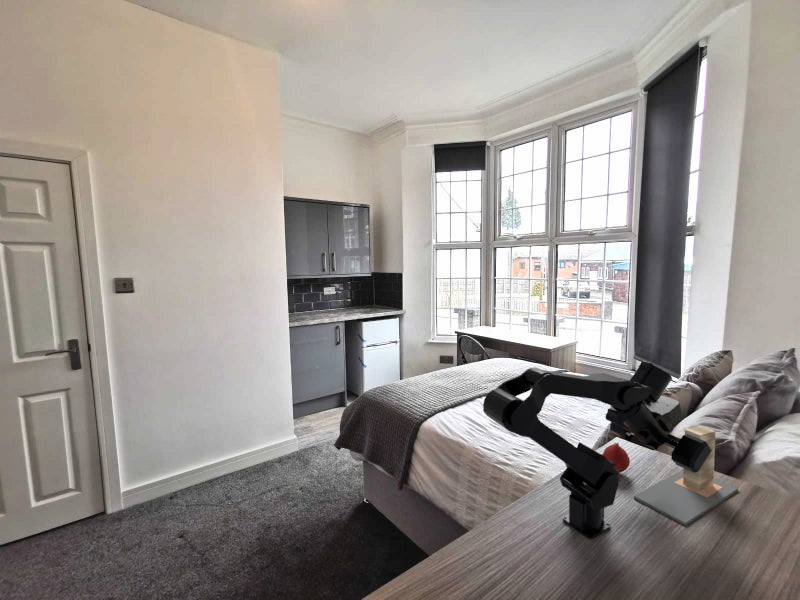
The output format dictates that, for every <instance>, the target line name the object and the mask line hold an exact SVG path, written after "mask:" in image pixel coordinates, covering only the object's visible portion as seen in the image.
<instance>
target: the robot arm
mask: <svg viewBox="0 0 800 600" xmlns="http://www.w3.org/2000/svg"><path fill="white" fill-rule="evenodd" d="M672 380H673V377H672V375H671V374H670V373H669V372H666V371H665V370H663V369H661V367H658V366H656V365H654V364H653V363H652V362H649V361H646V360H642V361H641V363H640V364H639V365H638V368H637V369H636V371H635V372H634V374H633V375H632V377H630V379H626V378H623V377H619V376H615V375H611V374H608V373H606V372H598V373H590V374H589V375H579V374H578V375H577V374H571V373H565V372H558V371H553V370H544V369H541V368H538V367H529V368H527V369H526V370H525V371H523V373H521V374H519V375H518V376H517V375H516V376H515V377H513V378H509V379H507V380H505V381H503V382H502V383H501V384H500V385H498V386H497V387H496V388H494V389H492V390H490V391H489V392H487V394H486V395H485V397H484V399H483V405H482V407H483V410H482V411H483V413H484V415H486V417H488V418H490V419H491V420H492V421H493V422H495V423H497V424H498V425H499V426H501V427H502V428H504V429H506V430H507V431H508V432H510V433H513V434H515V435H518V436H519V437H523V438H529V439H530V440H532V441H533V442H535V443H536V444H537V445H539V446H540V447H541V448H542V449H543V448H544V449H545V450H546V451H547V452H548V453H550V454H551V455H553V456H555V457H556V458H557V459H558V460H560V461H562V462H563V463H564V464H565V467H566V468H565V470H564V471H563V472H562V474H561V476H560V477H559V481H560V484H561V486H562V487H563V488H565V489H566V490H568V491H569V492H570V494H569V497H568V502H569V503H568V507H569V508H568V514H565V515H564V516H562V521H563V522H565V523H566V524H568V526H570V527H572V528H573V529H575V530H576V531H577V532H579V533H580V534H582V535H583V536H584V537H586V538H587V539H590V540H591V539H594V538H596V537H597V536H599V535H601V534H603V533H604V532H606V531H608V530H609V529H611V528H612V524H610V523H609V522H608V521H606V520H604V519H605V508H607V507H609V506H613V505H614V503H615V498H616V495H617V492H618V488H619V485H620V479H619V475H620V473H618V471H617V469H616V468H614V466H616V464H615V463H613V462H611V461H609V460H608V459H606V457H604V456H603V455H602V454H603V453H600V452H598V451H597V450H596V449H593V448H591V447H589V446H587V445H586V444H584V443H583V442H581V441H579V442H578V444H577V445H576V446H575V445H573V443H570V442H569V441H568V440H567V439H565V438H564V437H563V436H561V435H560V434H558V433H557V432H556V431H554V430H553V429H552V428H550V427H548V426H547V425H546V424H544V422H541V420H540V419H539V417H538V415H539V414H540V413H541V412H542V410H543V407H544V403H545V401H546V399H547V397H549V396H550V395H551V394H553V395H559V396H566V397H567V396H568V397H573V398H574V397H575V398H576V397H577V398H583V399H590V400H596V401H598V402H601V403H603V404H606V405H608V406H610V408H607V412H606V414H605V420H606V421H608V422H610V424H609V430H610V432H611V433H612V434H614V435H615V436H616V437H620V438H621V439H622V440H625V441H627V442H629V443H632V444H634V445H637V446H640V447H642V448H645V449H648V450H650V451H654V450H655V451H657V450H658V448H659V447H661V446H662V445H665V446H666V447H670V448H672V449H673V450H672V452H671V456H670V457H671V461H673V463H675V465H676V466H678V467H680V468H683V469H686V470H688V471H691V472H693V473H695V472H698V471H699V470H700V468H701V467H702V465H703V464H704V462H705V460H706V459H707V457H708V456H709V454H710V453H711V451H712V449H711V447H710V446H709V445H708V443H707V442H706V441H704V440H701V439H699V438H696V437H694V436H691V435H689V434H686V435H685V434H683V435H682V437H681V438H680V437H678V436H675V435H673V434H670V433H672V432H673V431H674V428H675V427H674V426H673V424H674V423H675V422H676V421H677V420H679V418H682V417H683V416H684V413H683V409H682V406H681V404H680V401H679V400H677V399H673V398H671V397H667V396H665V395H663V393H664V392H665V390H666V389H667V388H668V386H669V384H670V383H671V381H672ZM528 392H530V393H529V395H528V396H527V397H526V398H525V399H521V398H519V397H517V396H520V395H522V394H524V393H528Z"/></svg>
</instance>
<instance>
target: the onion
mask: <svg viewBox="0 0 800 600" xmlns="http://www.w3.org/2000/svg"><path fill="white" fill-rule="evenodd" d="M601 454H602V455H603V456H604V457H606V459H608V460H609V461H611V462H613V463H615V464H616V466H614V468H616V469H617V471H618V473H619V474H620V473H622V472H625V471H626V470H627V469H628V468H629V467H630V465H631V463H630V461H631V460H630V456H629V455H628V453H627V452H626V450H625V449H624V448H623V447H622V446H620V444H619V442H614V443H613V444H610V445H609V446H607V447H606V448H605V449H603V453H601Z"/></svg>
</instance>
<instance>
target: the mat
mask: <svg viewBox="0 0 800 600" xmlns="http://www.w3.org/2000/svg"><path fill="white" fill-rule="evenodd" d="M683 471H684V468H683V469H681V470H680V471H677V472H676V473H674V474H672V475H670V476H668V477H667V478H665V479H663V480H660V481H659V482H657V483H655V484H654V485H652V486H649V487H648V488H646V489H644V490H643V491H640V492H638V493H637V494H635V495H634V496H633V499H635V500H636V501H638V502H640V503H642V504H643V505H646V507H647V506H648V507H650V508H651V509H653V510H655V511H657V512H659V513H661V514H662V515H664V516H666V517H668V518H669V519H671V520H674V521H676V522H678V523H679V524H681V525H683V526H688V525H689V524H690V523H692V522H693V521H695V520H697V519H698V518H700V516H702V515H704V514H706V513H707V512H708V511H710V510H711V509H713V508H714V507H716V506H718V505H719V504H720V503H722V502H723V501H724V500H726V499H728V498H729V497H731V496H732V495H734V494H735V493H737V492H738V491H739V488H738V487H736V486H733V485H732V484H729V483H726V482H724V481H721V480H719V479H717V478H714V481H713V486H712V487H709V488H706V489H703V490H700V491H697V490H695V489H693V488H691V487H689V486H687V485H685V484H683Z"/></svg>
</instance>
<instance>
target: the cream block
mask: <svg viewBox="0 0 800 600" xmlns="http://www.w3.org/2000/svg"><path fill="white" fill-rule="evenodd" d="M686 434H689V435H691V436H694V437H696V438H699V439H701V440H704V441H706V442H707V443H708V445H709V446H710V447H711V449H712V451H711V453H710V454H709V456H708V457H707V459H706V460H705V462H704V464H703V465H702V467H701V468H700V470H699V471H698V472H695V473H693V472H691V471H688V470H686V469H684V468H683V469H684V471H683V484H685V485H687V486H689V487H691V488H693V489H695V490H697V491H700V490H703V489H706V488H709V487H712V486H713V481H714V479H715V475H714V474H715V458H716V457H715V454H716V450H715V449H716V430H714V429H711V428H709V427H706V426H703V425H696V426H692V427H688V428H686V429H685V428H684V435H686Z"/></svg>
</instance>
